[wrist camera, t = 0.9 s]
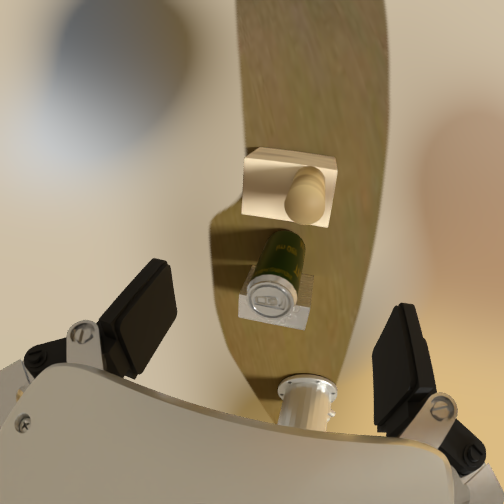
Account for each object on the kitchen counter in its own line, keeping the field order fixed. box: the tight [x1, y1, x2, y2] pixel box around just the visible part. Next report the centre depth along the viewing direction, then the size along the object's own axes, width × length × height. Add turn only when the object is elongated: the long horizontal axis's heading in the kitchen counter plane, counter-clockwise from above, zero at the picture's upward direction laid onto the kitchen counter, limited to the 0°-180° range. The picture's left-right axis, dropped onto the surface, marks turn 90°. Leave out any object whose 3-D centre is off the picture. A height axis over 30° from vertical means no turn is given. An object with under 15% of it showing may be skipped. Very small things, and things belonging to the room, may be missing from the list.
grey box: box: [238, 265, 314, 330], centre depth 39 cm, size 4×9×7 cm, turn 87°
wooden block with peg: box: [242, 147, 338, 228], centre depth 27 cm, size 6×9×14 cm, turn 87°
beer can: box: [246, 230, 305, 320], centre depth 34 cm, size 5×5×12 cm
